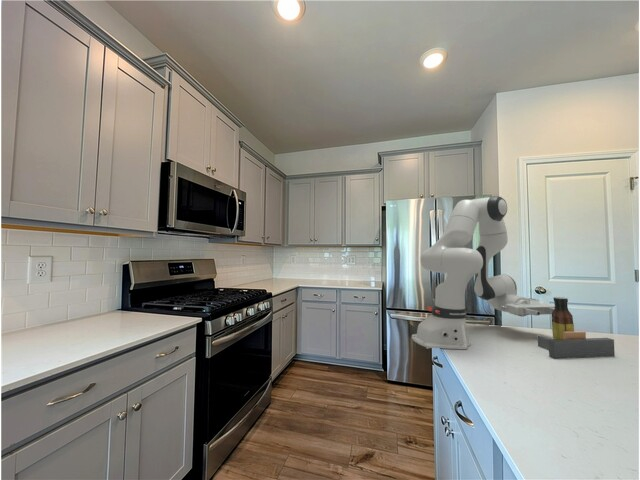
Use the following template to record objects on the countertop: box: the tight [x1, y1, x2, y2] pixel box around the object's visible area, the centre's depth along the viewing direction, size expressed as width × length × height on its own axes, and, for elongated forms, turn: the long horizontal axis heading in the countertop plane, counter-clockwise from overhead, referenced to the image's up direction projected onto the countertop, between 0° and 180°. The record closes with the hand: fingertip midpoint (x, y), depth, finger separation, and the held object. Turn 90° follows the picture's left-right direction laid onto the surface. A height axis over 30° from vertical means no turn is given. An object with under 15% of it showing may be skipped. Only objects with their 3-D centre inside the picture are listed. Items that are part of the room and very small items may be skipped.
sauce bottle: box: [551, 296, 575, 339], centre depth 99 cm, size 6×6×20 cm
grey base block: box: [537, 335, 616, 360], centre depth 98 cm, size 24×12×6 cm, turn 96°
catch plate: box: [563, 330, 587, 339], centre depth 95 cm, size 8×1×7 cm, turn 96°
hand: (548, 313), depth 105 cm, fingers open, 8 cm apart
